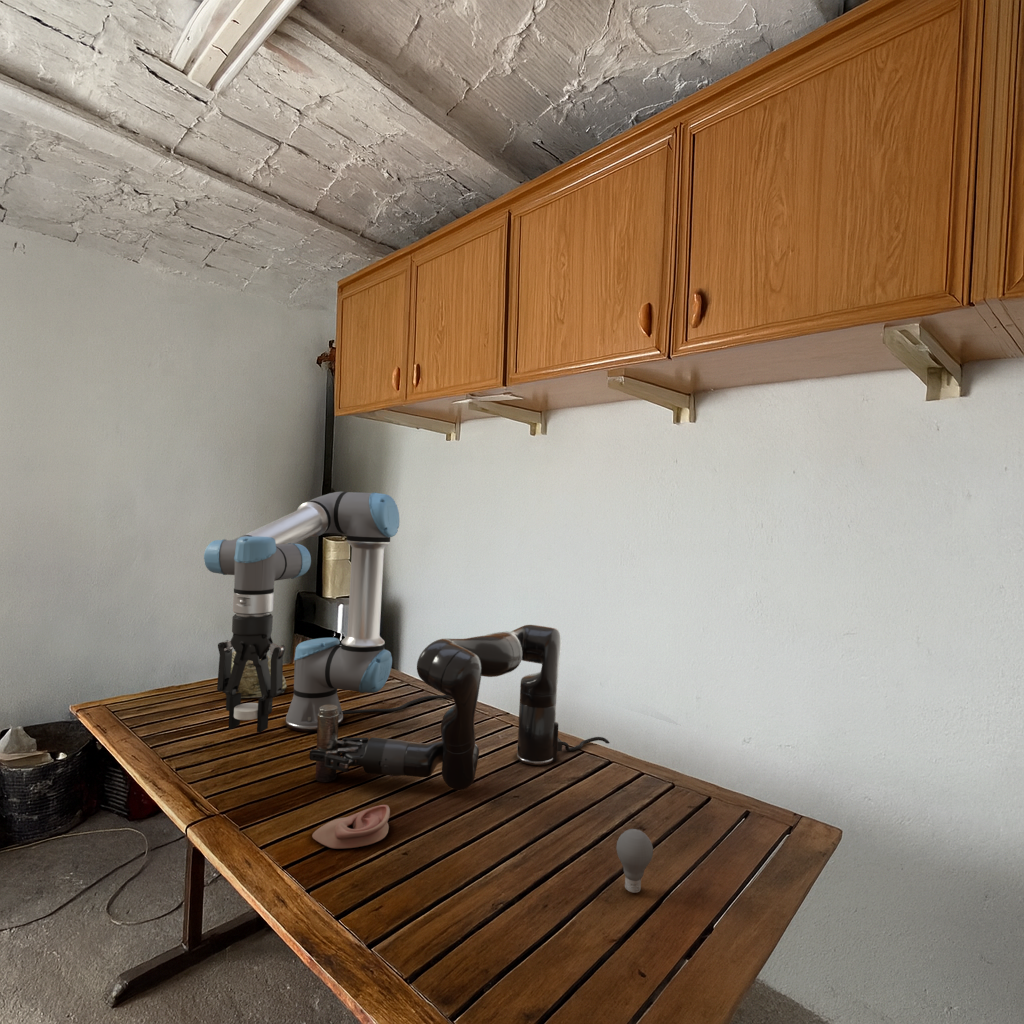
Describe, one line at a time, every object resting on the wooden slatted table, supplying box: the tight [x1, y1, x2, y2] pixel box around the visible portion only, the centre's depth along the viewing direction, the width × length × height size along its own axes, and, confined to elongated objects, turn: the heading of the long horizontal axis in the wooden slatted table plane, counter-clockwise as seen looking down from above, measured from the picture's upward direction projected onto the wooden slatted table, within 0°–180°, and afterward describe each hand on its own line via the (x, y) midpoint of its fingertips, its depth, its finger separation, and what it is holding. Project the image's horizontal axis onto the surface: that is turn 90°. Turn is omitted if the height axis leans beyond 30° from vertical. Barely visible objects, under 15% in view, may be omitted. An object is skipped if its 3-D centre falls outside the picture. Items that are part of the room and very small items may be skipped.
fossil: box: [231, 650, 288, 699], centre depth 198 cm, size 9×18×15 cm, turn 132°
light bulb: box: [615, 828, 654, 894], centre depth 106 cm, size 6×6×10 cm
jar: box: [315, 705, 339, 783], centre depth 143 cm, size 4×4×16 cm
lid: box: [234, 702, 258, 721], centre depth 127 cm, size 6×6×2 cm
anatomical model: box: [311, 804, 391, 850], centre depth 119 cm, size 13×4×12 cm
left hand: (248, 728), depth 127 cm, fingers closed on lid, 5 cm apart
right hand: (315, 750), depth 143 cm, fingers closed on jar, 4 cm apart
